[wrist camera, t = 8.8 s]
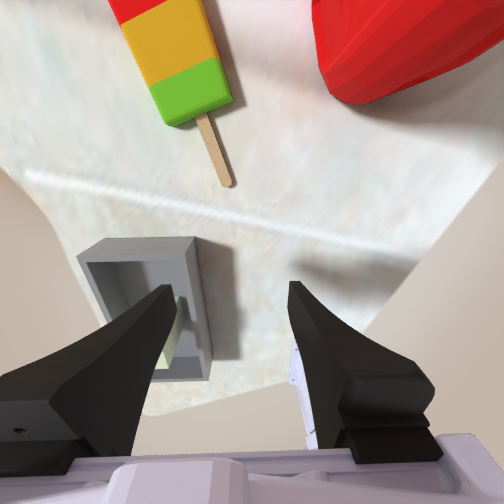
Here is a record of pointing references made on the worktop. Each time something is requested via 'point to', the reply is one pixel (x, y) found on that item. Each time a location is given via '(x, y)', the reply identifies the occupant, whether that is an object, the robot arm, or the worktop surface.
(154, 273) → the bin
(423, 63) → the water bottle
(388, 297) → the worktop surface
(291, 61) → the worktop surface
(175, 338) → the sage block
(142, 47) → the popsicle
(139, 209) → the worktop surface
